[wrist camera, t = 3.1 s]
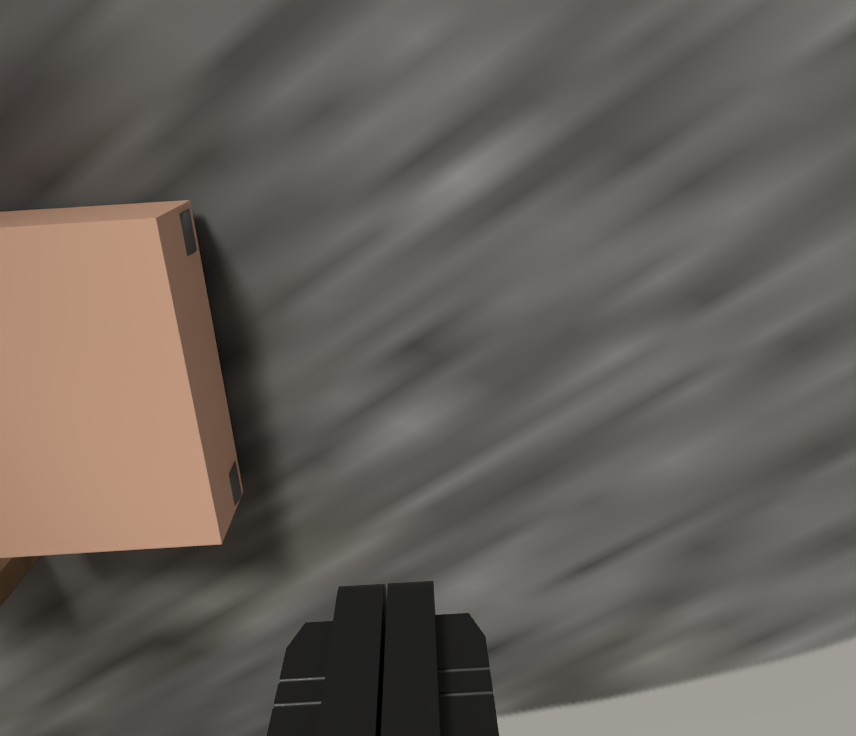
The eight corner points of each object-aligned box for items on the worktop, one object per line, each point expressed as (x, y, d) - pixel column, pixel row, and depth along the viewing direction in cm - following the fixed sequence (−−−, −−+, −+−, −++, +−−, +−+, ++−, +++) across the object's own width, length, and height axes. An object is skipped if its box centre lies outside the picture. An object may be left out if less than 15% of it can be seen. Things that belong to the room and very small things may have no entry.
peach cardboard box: (-41, 212, 21) (-124, 235, 18) (198, 197, 21) (159, 217, 18) (46, 496, 25) (-9, 558, 22) (249, 483, 25) (224, 544, 22)
